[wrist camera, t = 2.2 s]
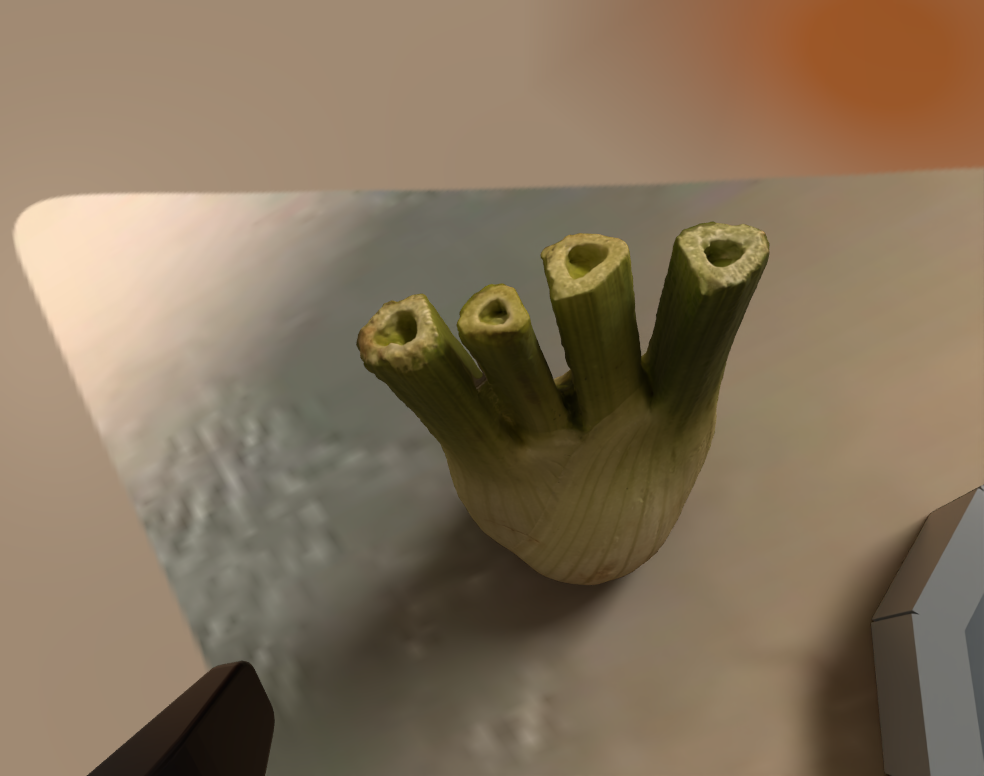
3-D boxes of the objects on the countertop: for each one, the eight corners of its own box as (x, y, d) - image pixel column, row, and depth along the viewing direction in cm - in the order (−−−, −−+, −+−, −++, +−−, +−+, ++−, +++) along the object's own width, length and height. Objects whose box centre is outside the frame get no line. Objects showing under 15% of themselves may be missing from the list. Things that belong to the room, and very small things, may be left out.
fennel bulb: (700, 454, 19) (797, 167, 8) (670, 620, 17) (743, 529, 7) (517, 415, 21) (402, 135, 10) (473, 564, 19) (276, 417, 8)
